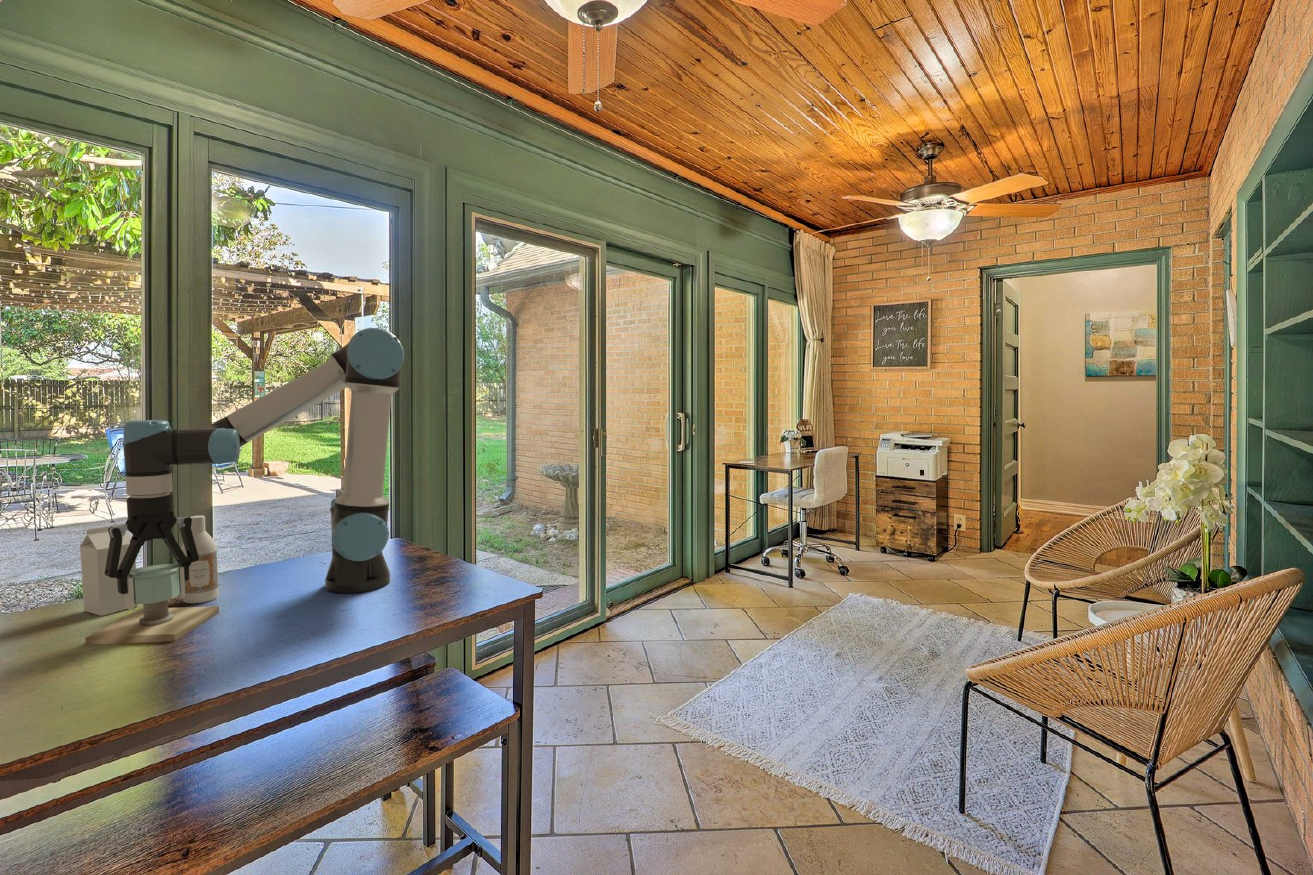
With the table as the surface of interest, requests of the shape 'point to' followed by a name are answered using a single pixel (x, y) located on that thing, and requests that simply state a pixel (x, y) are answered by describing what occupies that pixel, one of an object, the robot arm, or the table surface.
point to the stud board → (153, 624)
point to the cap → (155, 583)
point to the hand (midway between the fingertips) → (155, 601)
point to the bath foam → (202, 566)
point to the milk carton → (101, 572)
